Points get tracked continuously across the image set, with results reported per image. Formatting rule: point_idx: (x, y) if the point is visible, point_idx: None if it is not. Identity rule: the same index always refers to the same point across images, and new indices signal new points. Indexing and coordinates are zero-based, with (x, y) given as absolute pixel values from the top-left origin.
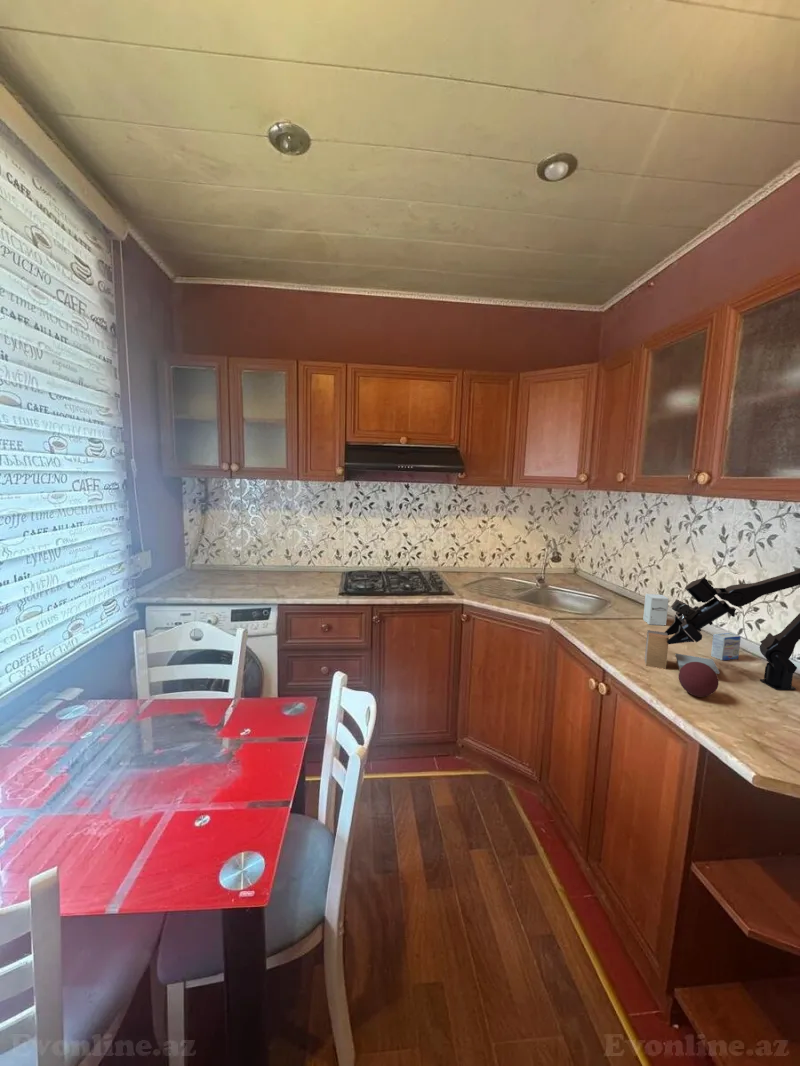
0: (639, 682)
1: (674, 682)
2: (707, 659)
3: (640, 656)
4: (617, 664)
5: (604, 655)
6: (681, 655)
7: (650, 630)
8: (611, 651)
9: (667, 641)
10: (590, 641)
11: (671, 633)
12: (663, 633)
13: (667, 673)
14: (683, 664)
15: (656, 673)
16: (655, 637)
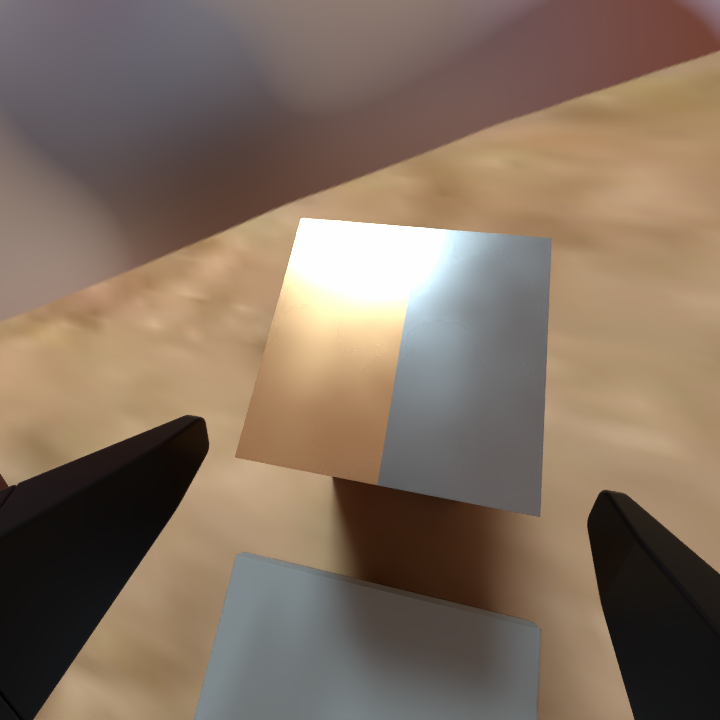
0: (113, 282)
1: None
2: None
3: None
4: (324, 213)
5: (443, 164)
6: (500, 678)
7: (547, 271)
8: (536, 201)
9: (177, 420)
10: (672, 106)
11: (617, 625)
12: (471, 437)
13: (260, 465)
14: (252, 597)
15: (244, 394)
16: (285, 297)
